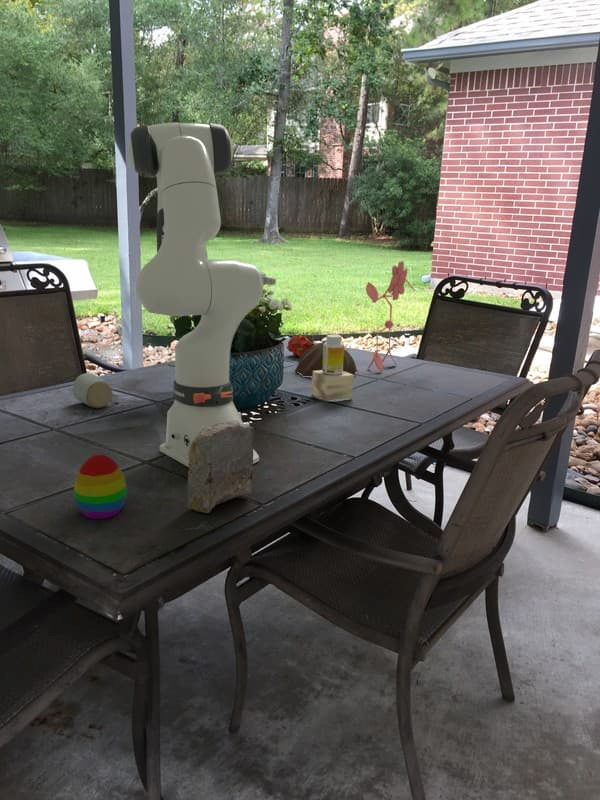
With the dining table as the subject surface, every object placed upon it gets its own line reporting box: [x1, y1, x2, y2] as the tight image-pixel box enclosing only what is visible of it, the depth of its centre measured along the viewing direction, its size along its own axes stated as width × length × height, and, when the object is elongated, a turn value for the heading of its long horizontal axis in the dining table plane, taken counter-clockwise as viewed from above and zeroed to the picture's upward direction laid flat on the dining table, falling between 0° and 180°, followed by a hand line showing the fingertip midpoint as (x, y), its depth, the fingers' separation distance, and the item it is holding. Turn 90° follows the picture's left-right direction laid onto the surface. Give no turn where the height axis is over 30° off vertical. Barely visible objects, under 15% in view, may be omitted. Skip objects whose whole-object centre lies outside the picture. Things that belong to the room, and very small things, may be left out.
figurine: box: [365, 260, 416, 373], centre depth 211 cm, size 15×26×35 cm, turn 147°
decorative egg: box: [73, 453, 127, 520], centre depth 108 cm, size 8×8×10 cm
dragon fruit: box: [286, 334, 317, 357], centre depth 230 cm, size 8×8×12 cm
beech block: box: [311, 370, 354, 401], centre depth 180 cm, size 8×8×7 cm
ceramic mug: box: [72, 372, 121, 409], centre depth 167 cm, size 11×8×8 cm
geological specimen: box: [187, 420, 255, 514], centre depth 111 cm, size 11×6×15 cm, turn 141°
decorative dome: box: [294, 341, 358, 377], centre depth 208 cm, size 19×20×10 cm
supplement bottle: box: [322, 334, 345, 375], centre depth 178 cm, size 6×6×10 cm
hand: (268, 283), depth 178 cm, fingers open, 8 cm apart
